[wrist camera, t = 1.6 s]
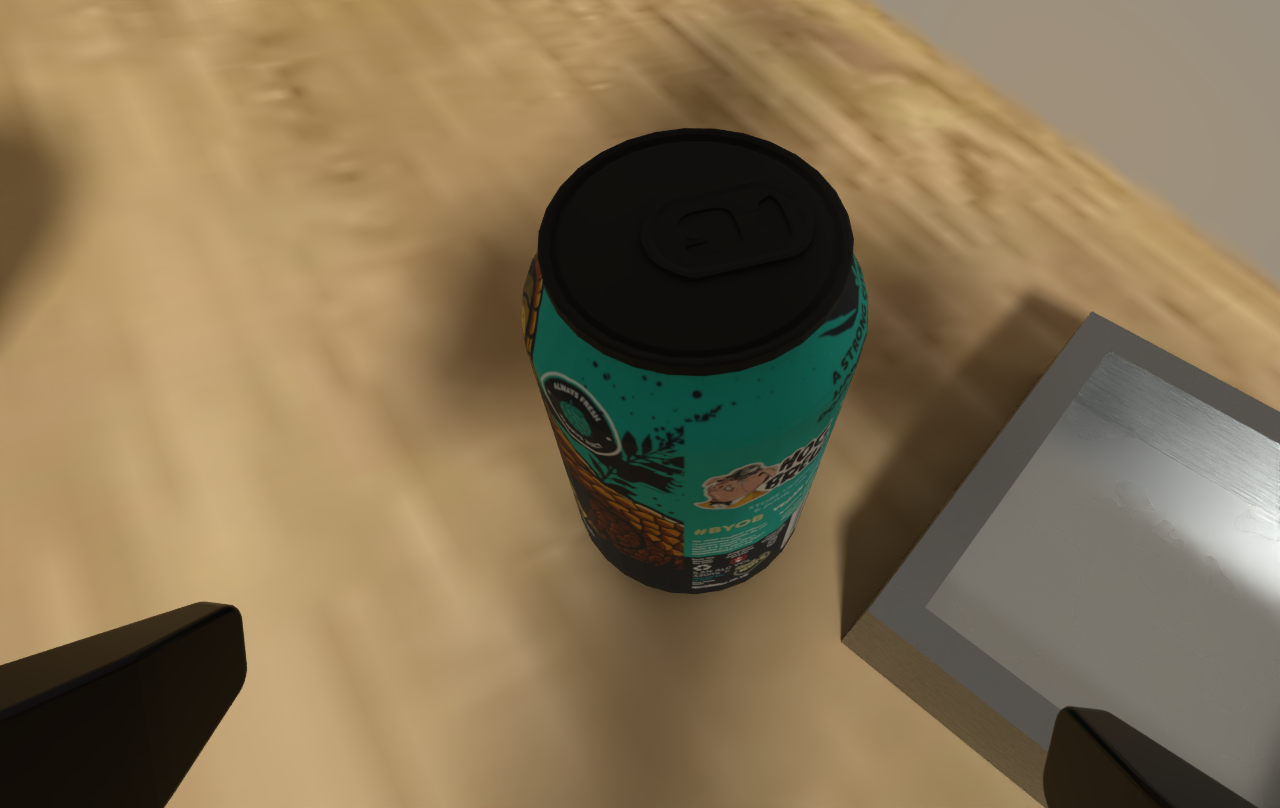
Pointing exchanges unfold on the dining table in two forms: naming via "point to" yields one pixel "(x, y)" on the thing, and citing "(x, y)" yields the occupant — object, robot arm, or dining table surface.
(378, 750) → the dining table surface
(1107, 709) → the open rectangular box
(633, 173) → the beverage can
